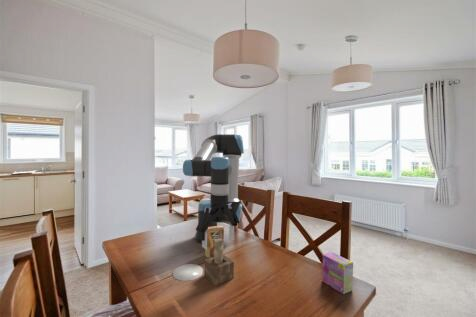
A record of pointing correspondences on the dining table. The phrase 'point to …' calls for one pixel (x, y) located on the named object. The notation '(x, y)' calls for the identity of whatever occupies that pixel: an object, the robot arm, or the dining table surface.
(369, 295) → the dining table surface
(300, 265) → the dining table surface
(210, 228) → the candy box
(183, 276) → the white plate
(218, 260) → the dowel
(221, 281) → the pen pot
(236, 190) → the robot arm
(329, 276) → the box
